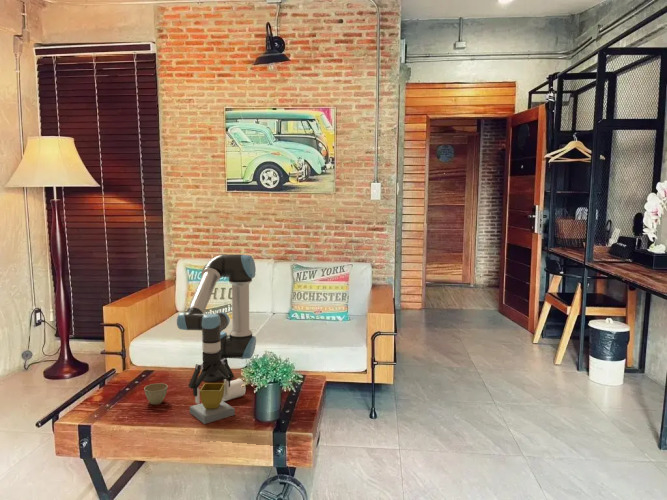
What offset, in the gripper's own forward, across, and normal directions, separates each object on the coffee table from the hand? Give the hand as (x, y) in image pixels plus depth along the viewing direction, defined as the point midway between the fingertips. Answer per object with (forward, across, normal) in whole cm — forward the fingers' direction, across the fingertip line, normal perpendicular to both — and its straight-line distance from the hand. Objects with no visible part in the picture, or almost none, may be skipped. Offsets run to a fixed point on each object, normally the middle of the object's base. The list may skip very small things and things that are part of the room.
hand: (212, 398), depth 206 cm
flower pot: (+4, 0, 0) cm, 4 cm away
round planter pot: (+7, +14, -27) cm, 31 cm away
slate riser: (+7, 0, 0) cm, 7 cm away
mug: (+7, -15, -12) cm, 20 cm away
